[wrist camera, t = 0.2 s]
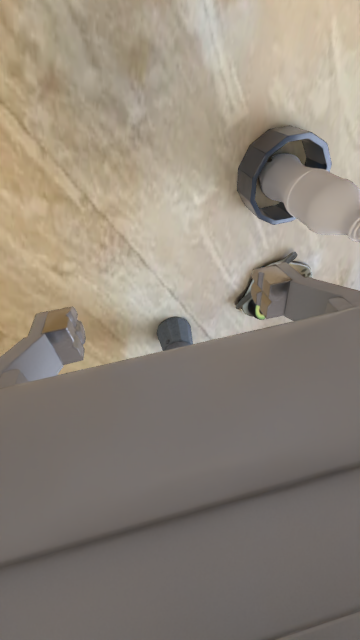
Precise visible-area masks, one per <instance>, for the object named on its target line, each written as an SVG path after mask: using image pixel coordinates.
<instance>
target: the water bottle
mask: <svg viewBox="0 0 360 640" xmlns="http://www.w3.org/2000/svg"><path fill="white" fill-rule="evenodd" d="M259 180H260V183H261V190H262V192H263V193H264V195H266V196H267V197H268V198H269V199H272V200H277V201H280V202H283V203H284V206H285V208H286V210H287V211H288V213H289V214H290V215H291V216H293V217H295V218H297V219H298V220H299V221H301V222H302V223H303V224H305V225H306V226H307V227H308V228H309V229H310V230H311V231H313V232H315V233H317V234H321V235H347V236H348V238H349V239H350V240H352V241H356V242H360V190H359V188H358V187H357V186H356V185H355V184H354V183H353V182H351V181H350V180H348V179H343V178H341V177H339V176H336V175H334V174H332V173H330V172H329V171H327V170H325V169H316V168H310V167H306V166H304V165H302V164H301V162H300V160H299V159H298V157H296V156H295V155H292V154H289V153H280V154H277V155H274V156H273V157H272V161H271V162H267V163H266V164H265V165H264V167H263V169H262V171H261V173H260V174H259Z"/></svg>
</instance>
